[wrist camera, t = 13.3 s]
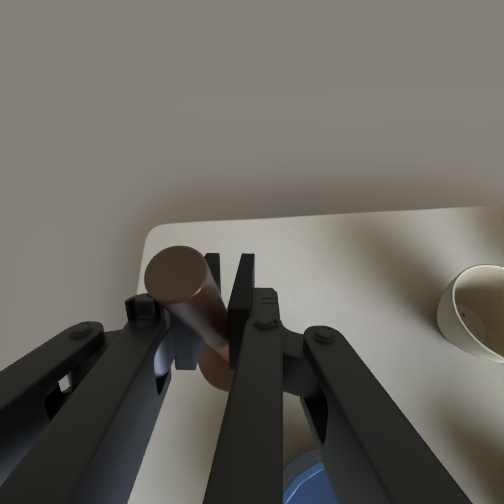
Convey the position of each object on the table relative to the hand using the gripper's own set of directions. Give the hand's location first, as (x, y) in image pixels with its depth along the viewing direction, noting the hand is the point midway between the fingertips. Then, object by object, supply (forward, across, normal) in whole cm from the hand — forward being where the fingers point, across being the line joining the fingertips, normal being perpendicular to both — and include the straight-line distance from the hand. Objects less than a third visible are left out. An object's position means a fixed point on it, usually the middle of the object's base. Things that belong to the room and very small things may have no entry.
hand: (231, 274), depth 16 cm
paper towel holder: (+1, 0, -7) cm, 7 cm away
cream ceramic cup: (+14, +26, -12) cm, 32 cm away
